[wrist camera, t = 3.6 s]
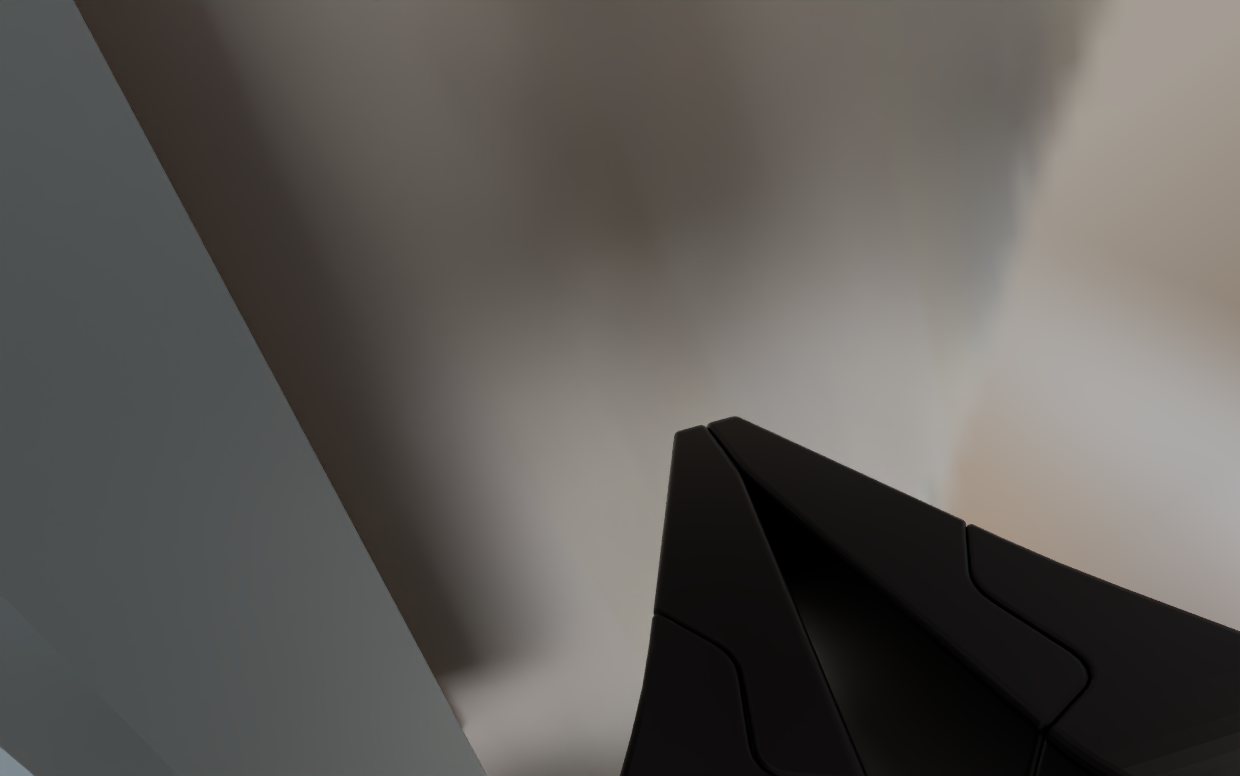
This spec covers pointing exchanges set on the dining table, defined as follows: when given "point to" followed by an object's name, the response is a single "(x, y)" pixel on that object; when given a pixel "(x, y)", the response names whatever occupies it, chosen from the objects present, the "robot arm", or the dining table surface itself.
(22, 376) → the box
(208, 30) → the dining table surface
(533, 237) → the dining table surface
